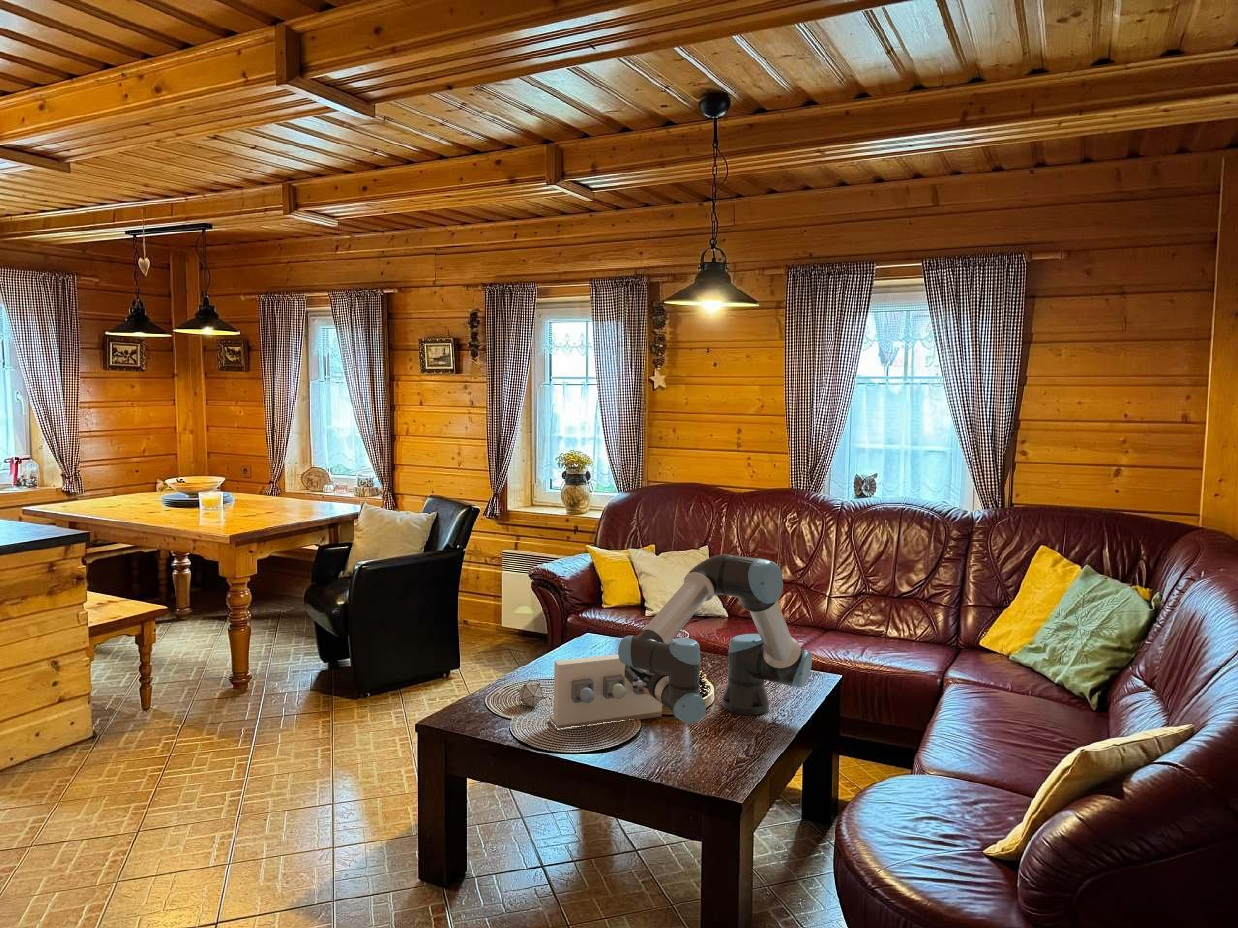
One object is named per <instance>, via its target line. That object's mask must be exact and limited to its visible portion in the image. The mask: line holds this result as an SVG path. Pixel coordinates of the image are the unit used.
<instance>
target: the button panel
mask: <svg viewBox="0 0 1238 928" xmlns="http://www.w3.org/2000/svg"><path fill="white" fill-rule="evenodd" d="M553 666H554V669H553V671H554V673H553V674H554V677H553V679H554V682H553V715H549V720H550V719H551V720H552V722H553V723H554V724H555V725H556V727H557V728H564V727H571V726H581V725H589V724H597V723H603V722H611V721H620V720H629V719H639V720H644V719H645V720H646V719H651V718H659V717H662V716H663V705H662V704H661V703H660V702H659V701H657V700H656V699H655V698H654V697H652V696H651V695H648V694H646V693H645V692H644V691H643V689H642V685H639V686H637V688H633V685H632V684H631V683H630V682H629V681H628V680H627V678H626V677H625V667H624V664H623V663H622V662H621V661H620V659H619V656H618V653H616V654H607V655H597V656H587V657H578V658H571V659H570V658H569V659H561V660H554V665H553ZM640 670H642V669H640ZM642 671H643V670H642ZM644 672H645V671H644ZM615 684H621V685H623V686H624V687H625V688H626V695H625V696H624V697H623V698H622V699H617V698H615V697H614V696H613V695H612V693H611V689H612V687H613V686H614V685H615ZM586 687H588V688H590V689H591V690H592V691H593V692H594V694H595V697H594V699H593V701H592V702H590V703H585V702H583V701H582V700H581V699H580V696H579V694H580V691H581V690H582V689H583V688H586Z"/></svg>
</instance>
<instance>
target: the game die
mask: <svg viewBox="0 0 1238 928" xmlns="http://www.w3.org/2000/svg"><path fill="white" fill-rule="evenodd" d="M542 689H543V686H542V687H541V682H539V683H535V682H533V681H531V679H530V678H529V679H528V682H527V683H526V684H525V683H524V684H523V686H522V687H521V688H520V689H519V688H518V689H516V691H517V692H519V696H520V699H519V702H521V705H522V704H524V705H527V706H528V707H531V709H532V708H534V706H536V705H537V703H538V704H539V703H540V701H542V700H546V697H545V696H544V695H543V692H542Z"/></svg>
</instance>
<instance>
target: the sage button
mask: <svg viewBox="0 0 1238 928" xmlns="http://www.w3.org/2000/svg"><path fill="white" fill-rule="evenodd" d="M611 693H612V695H613V696H614V697H615V698H617V699H622V698H623V697H624V696H625V695H626V688H625V687H624V686H623V685H621V684H615V685H614V686H613V687H612V689H611Z"/></svg>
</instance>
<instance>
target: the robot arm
mask: <svg viewBox="0 0 1238 928" xmlns="http://www.w3.org/2000/svg"><path fill="white" fill-rule="evenodd" d="M783 580H784V576H783V572H782V570H781V568H780V566H779V565H778V564H777V563H776V562H774V561H772V560H768V559H765V558H756V557H749V556H741V555H733V554H728V553H724V554H717V555H713V556H711V557H708V558H707V559H705V560H703V561H701V562H699V563H697V564H696V565H695V566H694V567H692V568H691V570H689V571H688V573H687V574H686V575H685V576H684V578H683V584H682V585H681V586H680V587H679V589H677V590H676V592H675V593H674V594H673V595H672V596H671V597H670V598H669V600H668V601H666V603H665V604H664V605H663V607H662V608H661V609H660V610H659V611H658V612H657V614H656V615H655V616H654V617H652V619H651V621H649V623H647V625H646V626H645V627H644V629H643V630H642V631H640V633H638V635H637V636H635V635H626V636H624V637H623V638H622V639H620V642H619V645H618V648H617V654H618V656H619V659H620V661H621V662H622V663H623V664H624V667H625V677H626V678H627V680H628V681H629V682H630V683H631V684H632V685H633V688H637V686H639V685H642V686H643V687H644V688H647V689H648V691H649V693H650V694H651V696H652V697H654V698H655V699H656V700H657V701H659V702H660V703H661V704H662V707H665V708H666V710H668V711H669V712H670V713H671V714H672V715H673V716H674V717H675V718H676V719H678V720H680V721H681V722H683V723H686V724H687V725H688V724H689V725H693V724H695V723H698V722H700V721H701V720H702V718H704V715H705V713H706V711H707V710H706V709H707V705H706V701H705V700H704V698H703V697H702V695H701V694H700V670H701V660H702V659H701V648H700V647H701V646H700V644H699V642H698V641H697V640H695V639H693V638H689V637H688V638H687V637H686V638H685V637H676V636H677V635H678V634H679V633H680V631H681V630H682V629H683V627H684V626H685V625H686V624H687V623H688V622H689V621H690V619H691V618H692V617H693V616H694V615H695V613H696V612H697V611H698V609H700V607H701V606H702V605H703V604H704V602H709V601H710V600H711V599H713V597H714V596H719V595H721V596H722V595H723V596H728V597H733V598H737V599H738V601H739V602H740V605H741V607H742V608H744V609H745V610H746V611H748V612H750V615H751V618H752V620H753V623H754V625H755V628H756V630H757V632H758V633H745V634H739V635H736V636H733V637H732V638H731V639H730V640H729V647H728V666H727V667H728V668H727V669H728V671H727V672H728V673H727V677H728V678H727V683H726V686H725V689H724V691H723V695H722V696H721V707H722V708H723V709H724V710H726V711H727V712H730V713H732V714H737V715H744V716H757V715H758V716H759V715H762V714H764V713H767V712H768V711H769V709H770V699H769V696H768V693H767V688H766V685H765V683H766V682H765V681H768V682H772V683H777V684H780V685H785V686H789V687H790V688H797V689H798V688H799V689H800V688H803V687H804V686H805V685H806V684H807V682H808V680H809V677H810V674H811V670H812V665H813V655H812V652H811V651H810V650H807V649H802V648H801V645H800V644H799V642H798V640H796V639H795V638H794V637H792V635H791V633H790V630H789V628H788V626H787V623H786V619H785V617H784V614H783V611H782V610H781V606H780V604H779V602H778V601H779V600H780V598H781V596H782V594H783V591H784V589H783V588H784V582H783ZM675 637H676V638H675ZM640 669H642V670H643V671H642V670H640ZM644 671H645V672H644Z"/></svg>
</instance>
